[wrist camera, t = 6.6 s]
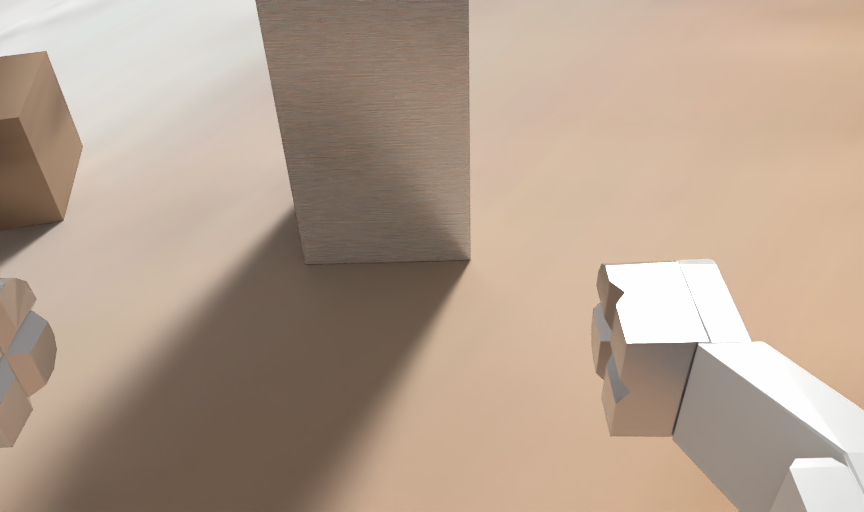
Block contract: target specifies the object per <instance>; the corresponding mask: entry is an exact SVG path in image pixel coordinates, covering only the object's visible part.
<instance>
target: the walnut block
mask: <svg viewBox="0 0 864 512" xmlns="http://www.w3.org/2000/svg"><path fill="white" fill-rule="evenodd" d="M82 148H83V146H82V143H81V140H80V138H79V135H78V133H77V130H76V127H75V125H74V122H73V120H72V117H71V114H70V112H69V109H68V107H67V104H66V101H65V99H64V96H63V94H62V91H61V88H60V86H59V83H58V81H57V78H56V75H55V73H54V70H53V68H52V65H51V62H50V60H49V57H48V55H47V52H46V51H43V52H35V53H27V54H19V55H11V56H3V57H0V231H1V230H7V229H14V228H20V227H26V226H33V225H39V224H45V223H52V222H58V221H64V217H65V213H66V209H67V205H68V201H69V198H70V194H71V190H72V186H73V182H74V178H75V175H76V171H77V167H78V163H79V159H80V155H81V152H82Z"/></svg>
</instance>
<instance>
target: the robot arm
mask: <svg viewBox="0 0 864 512" xmlns="http://www.w3.org/2000/svg"><path fill="white" fill-rule="evenodd" d="M596 286H597V290H598V294H599V298H600V303H599V304H598V305H597V306H596V307H595V308H594V309H593V316H592V326H591V345H592V353H593V360H594V365H595V370H596V373H597V374H598V375H599V376H600V377H601V378H602V379H603V380H604V385H603V391H602V402H603V407H604V411H605V415H606V420H607V424H608V428H609V433H610V436H646V437H673V439H672V440H673V441H674V442H675V443H676V444H677V445H678V446H679V447H680V448H681V449H682V450H683V451H684V452H685V454H686V455H687V456H688V457H689V458H690V459H691V460H692V461H693V462H694V463H695V464H696V465H697V466H698V467H699V468H700V470H701V471H702V472H703V473H704V474H705V475H706V476H707V477H708V478H709V479H710V480H711V481H712V482H713V483H714V484H715V486H716V487H717V488H718V489H719V490H720V491H721V492H722V493H723V494H724V495H725V496H726V497H727V498H728V499H729V500H730V501H731V503H732V504H733V505H734V506H735V507H736V508H737V509H738V510H739V511H740V512H864V410H863V409H861V408H860V407H858V406H857V405H855V404H854V403H852V402H851V401H849V400H848V399H846V398H845V397H844V396H842V395H841V394H839V393H838V392H836V391H835V390H833V389H832V388H830V387H829V386H828V385H826V384H825V383H823V382H822V381H820V380H819V379H817V378H816V377H814V376H813V375H811V374H810V373H809V372H807V371H806V370H804V369H803V368H801V367H800V366H798V365H797V364H795V363H794V362H793V361H791V360H790V359H788V358H787V357H785V356H784V355H782V354H781V353H779V352H778V351H776V350H775V349H774V348H772V347H771V346H769V345H768V344H766V343H765V342H752V340H751V338H750V335H749V333H748V331H747V329H746V327H745V325H744V322H743V320H742V318H741V316H740V314H739V312H738V310H737V307H736V305H735V303H734V301H733V299H732V297H731V294H730V292H729V290H728V288H727V286H726V284H725V282H724V279H723V277H722V275H721V273H720V271H719V269H718V266H717V264H716V263H715V262H714V261H713V260H711V259H695V260H674V261H673V262H671V261H668V262H636V263H603V264H601V266H600V269H599V272H598V278H597V285H596ZM35 301H36V297H35V295H34V294H33V292H32V290H31V288H30V287H29V285H28V283H27V282H26V281H23V280H20V279H17V278H0V448H5V447H13V445H14V444H15V442H16V440H17V438H18V436H19V434H20V432H21V431H22V429H23V427H24V425H25V423H26V421H27V419H28V418H29V416H30V414H31V412H32V410H33V408H32V405H31V402H30V399H29V397H30V396H31V395H33V394H34V393H35V392H37V391H38V390H39V389H41V388H42V387H44V386H45V385H46V384H47V382H48V380H49V378H50V376H51V374H52V372H53V370H54V366H55V359H56V352H57V347H56V342H55V337H54V333H53V331H52V329H51V327H50V325H49V323H48V321H46V320H45V319H43V318H42V317H41V316H39V315H38V314H36V313H35V312H33V311H32V309H33V306H34V304H35Z"/></svg>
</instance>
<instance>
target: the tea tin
mask: <svg viewBox="0 0 864 512" xmlns="http://www.w3.org/2000/svg"><path fill="white" fill-rule="evenodd" d="M255 1H256V6H257V11H258V17H259V22H260V27H261V33H262V38H263V43H264V49H265V54H266V59H267V64H268V70H269V75H270V80H271V86H272V91H273V96H274V101H275V107H276V112H277V117H278V123H279V128H280V133H281V138H282V144H283V149H284V154H285V160H286V165H287V170H288V175H289V181H290V186H291V191H292V197H293V202H294V207H295V212H296V218H297V223H298V228H299V234H300V239H301V244H302V249H303V255H304V260H305V264H335V263H373V262H411V261H449V260H470V125H469V0H255Z"/></svg>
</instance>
